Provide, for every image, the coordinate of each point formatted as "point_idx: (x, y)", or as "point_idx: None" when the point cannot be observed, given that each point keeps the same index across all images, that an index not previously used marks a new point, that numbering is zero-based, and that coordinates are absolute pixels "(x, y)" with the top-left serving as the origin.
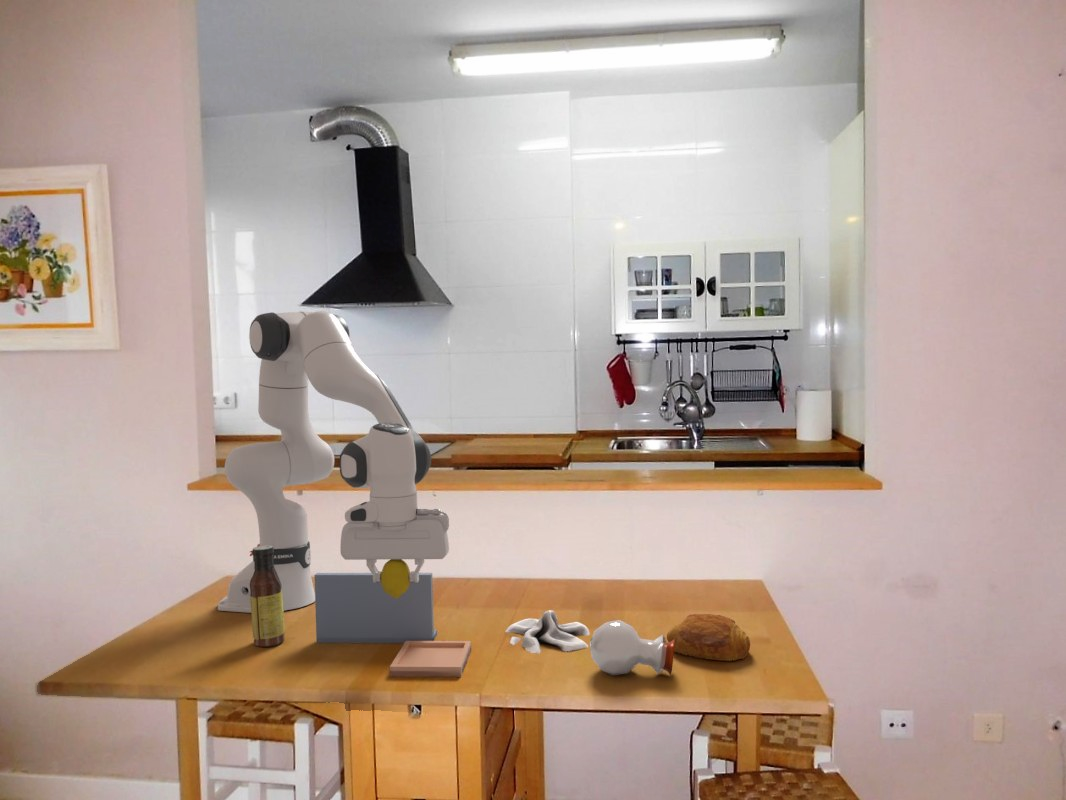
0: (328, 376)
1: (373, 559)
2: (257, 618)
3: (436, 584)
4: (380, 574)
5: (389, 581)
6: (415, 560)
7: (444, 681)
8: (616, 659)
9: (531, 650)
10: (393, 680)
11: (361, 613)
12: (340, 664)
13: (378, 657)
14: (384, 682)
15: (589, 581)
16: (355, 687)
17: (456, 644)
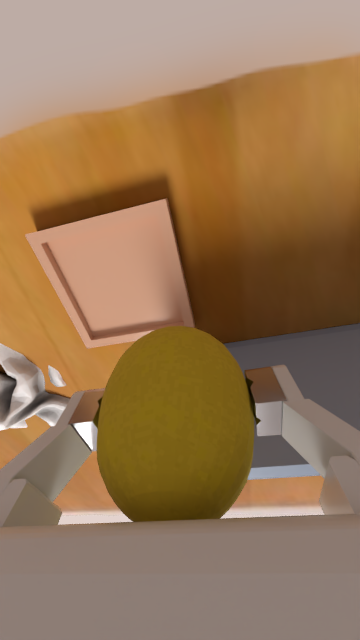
0: None
1: (357, 513)
2: None
3: (245, 495)
4: (254, 402)
5: (174, 349)
6: (1, 516)
7: (51, 202)
8: None
9: (6, 350)
10: (150, 178)
11: (306, 371)
12: (295, 234)
13: (230, 283)
14: (163, 161)
15: (85, 507)
16: (216, 108)
17: (106, 336)
